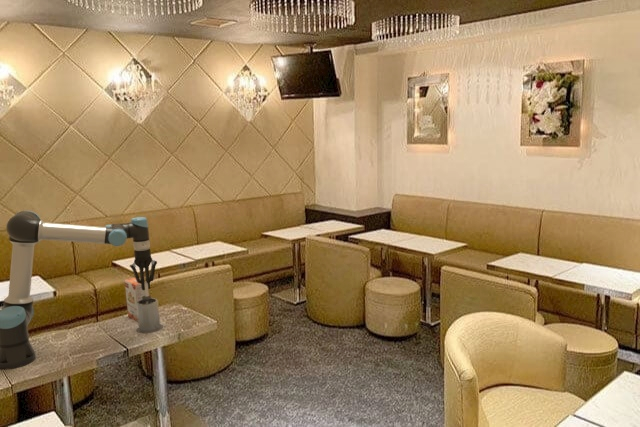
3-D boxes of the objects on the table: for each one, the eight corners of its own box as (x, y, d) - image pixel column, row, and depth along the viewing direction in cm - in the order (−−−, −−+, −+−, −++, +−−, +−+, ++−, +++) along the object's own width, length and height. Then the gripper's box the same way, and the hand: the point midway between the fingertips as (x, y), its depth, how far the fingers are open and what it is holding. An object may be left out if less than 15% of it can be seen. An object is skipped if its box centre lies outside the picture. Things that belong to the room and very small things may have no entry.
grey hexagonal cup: (142, 333, 256) (139, 306, 254) (136, 327, 264) (134, 301, 262) (162, 328, 261) (160, 301, 259) (156, 323, 269) (153, 296, 267)
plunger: (143, 323, 257) (141, 299, 255) (139, 319, 263) (137, 296, 261) (158, 319, 261) (155, 296, 259) (153, 315, 267) (151, 293, 265)
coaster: (140, 337, 254) (140, 335, 254) (132, 329, 265) (132, 327, 264) (166, 330, 261) (166, 329, 261) (158, 323, 272) (158, 321, 272)
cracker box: (127, 317, 282) (123, 279, 279) (138, 314, 286) (134, 277, 283) (138, 323, 272) (134, 284, 269) (149, 320, 276) (145, 282, 273)
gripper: (130, 252, 250) (135, 300, 253) (157, 248, 257) (162, 294, 261) (126, 249, 256) (131, 296, 259) (153, 245, 263) (157, 291, 267)
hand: (146, 295), depth 260 cm, fingers closed
